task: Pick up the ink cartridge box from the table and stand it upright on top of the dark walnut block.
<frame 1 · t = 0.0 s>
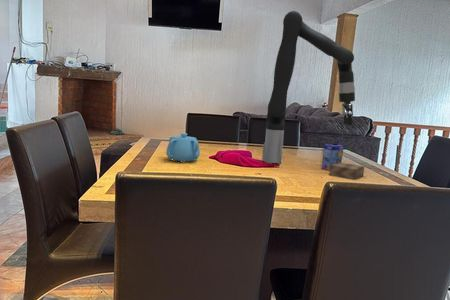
hand: (347, 124, 195), 22 cm above the table, tool pointing down, fingers open, 8 cm apart
decorative pot: (182, 160, 192), on the table
ink cartridge box: (331, 169, 194), on the table
walnut block: (346, 176, 180), on the table
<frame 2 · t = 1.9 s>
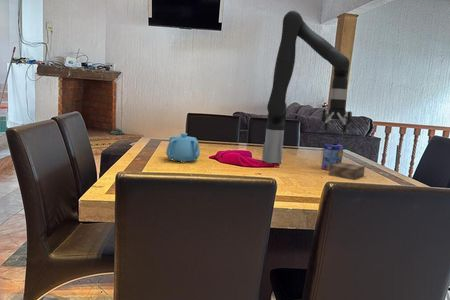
hand: (335, 131, 191), 19 cm above the table, tool pointing down, fingers open, 8 cm apart
nothing on the table moved.
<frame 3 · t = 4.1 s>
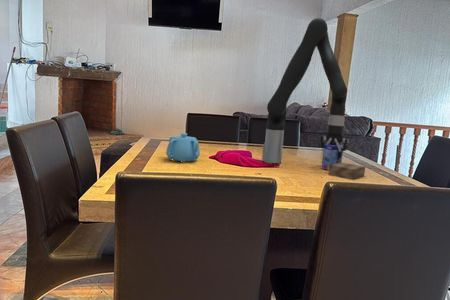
hand: (332, 157, 193), 6 cm above the table, tool pointing down, fingers closed on ink cartridge box, 6 cm apart
ink cartridge box: (331, 169, 194), on the table, touching gripper
everything else where it was.
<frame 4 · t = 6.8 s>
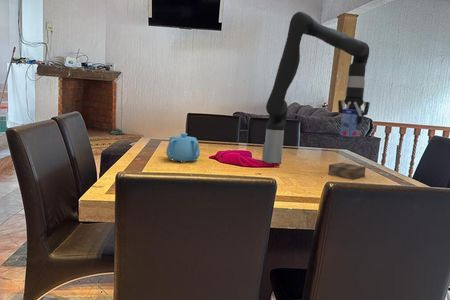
hand: (351, 123, 177), 24 cm above the table, tool pointing down, fingers closed on ink cartridge box, 6 cm apart
ink cartridge box: (350, 136, 178), point 18 cm above the table, touching gripper
everything else where it was.
when the fingers open (12 cm above the table, at t = 10.0 s): ink cartridge box drops 2 cm, resting on walnut block.
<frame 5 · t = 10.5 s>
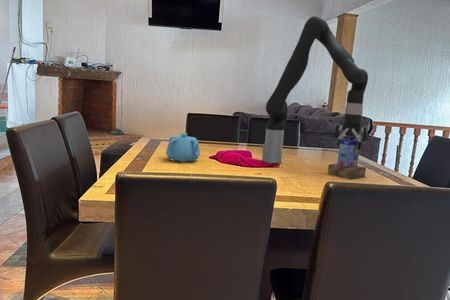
hand: (349, 148, 178), 13 cm above the table, tool pointing down, fingers open, 8 cm apart
ink cartridge box: (347, 166, 179), point 4 cm above the table, touching walnut block
walnut block: (346, 176, 180), on the table, touching ink cartridge box
everything else where it was.
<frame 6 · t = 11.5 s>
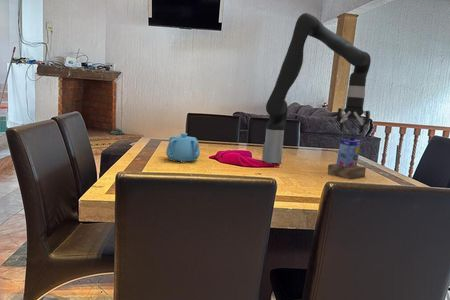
hand: (351, 132, 177), 20 cm above the table, tool pointing down, fingers open, 8 cm apart
nothing on the table moved.
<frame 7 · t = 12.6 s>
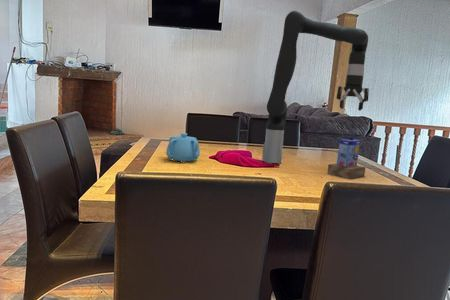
hand: (350, 109, 183), 30 cm above the table, tool pointing down, fingers open, 8 cm apart
ink cartridge box: (347, 166, 179), point 4 cm above the table
walnut block: (345, 176, 180), on the table
everything else where it was.
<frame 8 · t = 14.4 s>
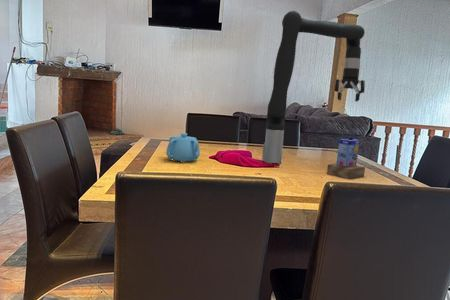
hand: (348, 100, 194), 34 cm above the table, tool pointing down, fingers open, 8 cm apart
nothing on the table moved.
at the end: ink cartridge box inside the target area on the walnut block (0.3 cm from its centre), point 4.9 cm above the walnut block's base; ink cartridge box tilted 2°; ink cartridge box touching walnut block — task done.
